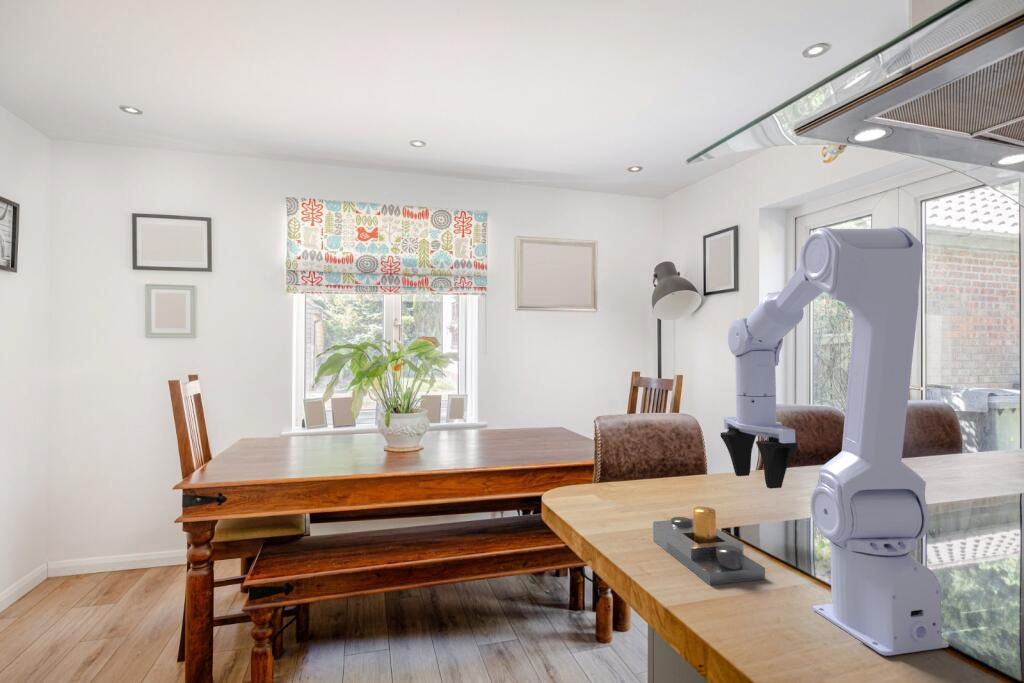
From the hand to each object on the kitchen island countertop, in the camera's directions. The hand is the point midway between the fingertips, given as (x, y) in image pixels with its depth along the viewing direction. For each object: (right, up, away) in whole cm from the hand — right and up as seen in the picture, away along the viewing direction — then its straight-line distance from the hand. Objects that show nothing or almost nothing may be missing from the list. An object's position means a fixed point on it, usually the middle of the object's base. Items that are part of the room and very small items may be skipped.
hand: (757, 481), depth 81 cm
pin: (-11, -9, -6) cm, 16 cm away
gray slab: (-11, -9, -6) cm, 16 cm away
